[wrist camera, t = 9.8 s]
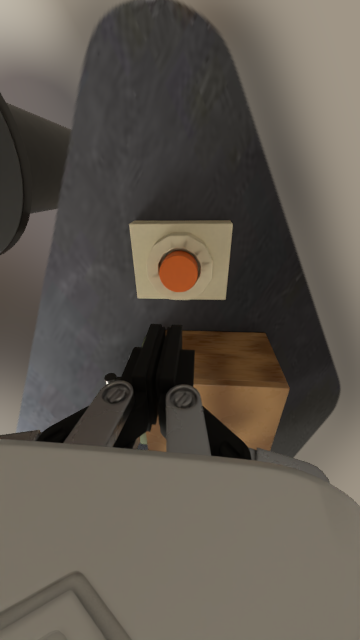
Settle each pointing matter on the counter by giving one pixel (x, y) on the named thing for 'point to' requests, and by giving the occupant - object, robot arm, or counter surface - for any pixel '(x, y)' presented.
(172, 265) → the button
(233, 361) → the cabinet
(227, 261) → the button box
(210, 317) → the counter surface
